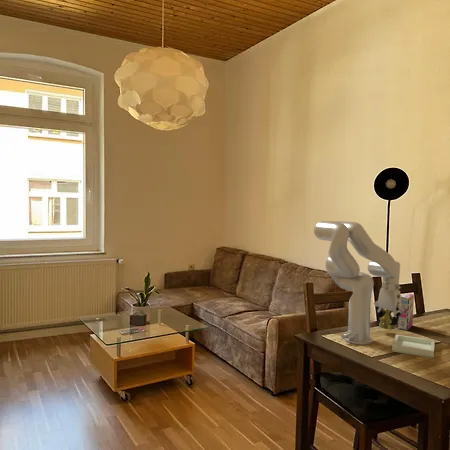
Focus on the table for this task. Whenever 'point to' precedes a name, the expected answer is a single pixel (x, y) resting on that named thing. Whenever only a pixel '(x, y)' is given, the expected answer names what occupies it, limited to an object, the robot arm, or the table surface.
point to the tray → (413, 346)
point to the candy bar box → (406, 312)
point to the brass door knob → (386, 320)
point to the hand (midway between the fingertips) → (387, 322)
